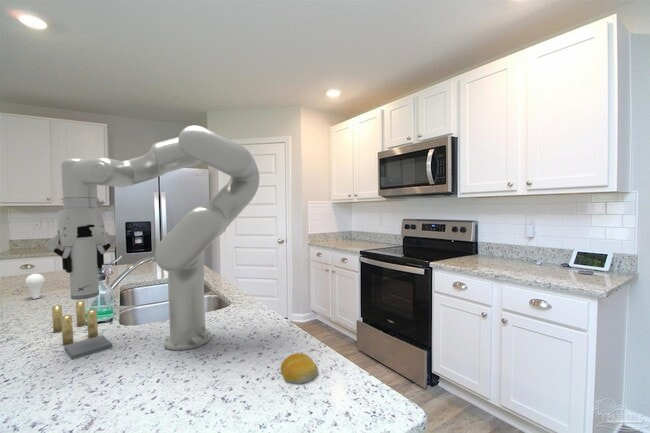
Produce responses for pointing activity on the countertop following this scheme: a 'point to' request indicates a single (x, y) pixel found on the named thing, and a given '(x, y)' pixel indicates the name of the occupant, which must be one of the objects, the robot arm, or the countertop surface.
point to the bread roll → (298, 368)
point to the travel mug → (84, 265)
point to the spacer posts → (66, 322)
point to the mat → (87, 347)
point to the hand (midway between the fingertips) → (84, 269)
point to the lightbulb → (35, 284)
